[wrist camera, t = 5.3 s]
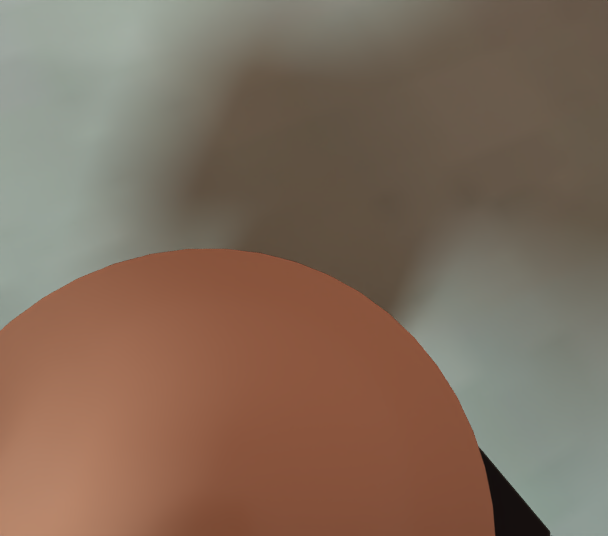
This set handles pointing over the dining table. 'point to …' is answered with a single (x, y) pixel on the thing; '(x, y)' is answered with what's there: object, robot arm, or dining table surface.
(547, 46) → the dining table surface
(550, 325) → the dining table surface
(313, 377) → the terracotta cylinder
